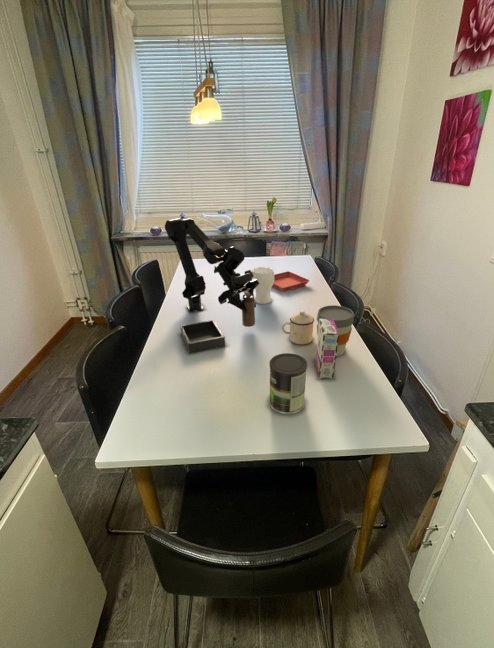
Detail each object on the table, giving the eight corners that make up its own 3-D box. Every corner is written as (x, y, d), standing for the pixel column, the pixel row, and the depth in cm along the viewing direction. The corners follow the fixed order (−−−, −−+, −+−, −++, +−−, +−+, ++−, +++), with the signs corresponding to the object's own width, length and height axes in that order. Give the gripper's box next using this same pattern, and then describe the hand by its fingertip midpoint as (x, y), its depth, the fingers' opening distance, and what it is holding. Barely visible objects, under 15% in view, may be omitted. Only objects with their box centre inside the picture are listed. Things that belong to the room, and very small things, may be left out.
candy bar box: (334, 379, 112) (339, 334, 103) (318, 379, 112) (322, 334, 103) (329, 360, 121) (334, 317, 113) (314, 360, 122) (318, 317, 113)
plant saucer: (309, 286, 182) (310, 279, 181) (282, 293, 174) (282, 287, 172) (288, 276, 195) (288, 270, 194) (261, 283, 187) (261, 277, 185)
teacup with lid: (311, 333, 138) (313, 306, 132) (314, 344, 131) (316, 316, 125) (280, 333, 138) (281, 306, 132) (282, 345, 131) (283, 317, 125)
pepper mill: (240, 322, 142) (239, 291, 134) (252, 320, 143) (251, 289, 136) (244, 327, 138) (243, 295, 130) (256, 325, 139) (256, 293, 132)
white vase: (272, 305, 162) (272, 274, 154) (249, 304, 163) (248, 273, 156) (275, 297, 170) (276, 267, 163) (254, 295, 172) (253, 265, 164)
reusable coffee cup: (307, 345, 130) (310, 308, 122) (336, 338, 134) (340, 302, 126) (326, 362, 120) (330, 323, 113) (356, 354, 125) (362, 316, 117)
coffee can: (271, 416, 98) (271, 374, 90) (267, 393, 106) (267, 354, 99) (307, 413, 98) (311, 372, 91) (300, 391, 107) (303, 351, 100)
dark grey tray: (181, 334, 139) (180, 325, 137) (214, 328, 143) (213, 319, 141) (189, 353, 127) (188, 344, 125) (225, 346, 131) (224, 336, 129)
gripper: (221, 271, 124) (245, 307, 124) (255, 258, 136) (277, 292, 136) (208, 286, 133) (230, 321, 132) (241, 274, 145) (262, 305, 144)
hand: (250, 309), depth 136 cm, fingers closed on pepper mill, 5 cm apart
